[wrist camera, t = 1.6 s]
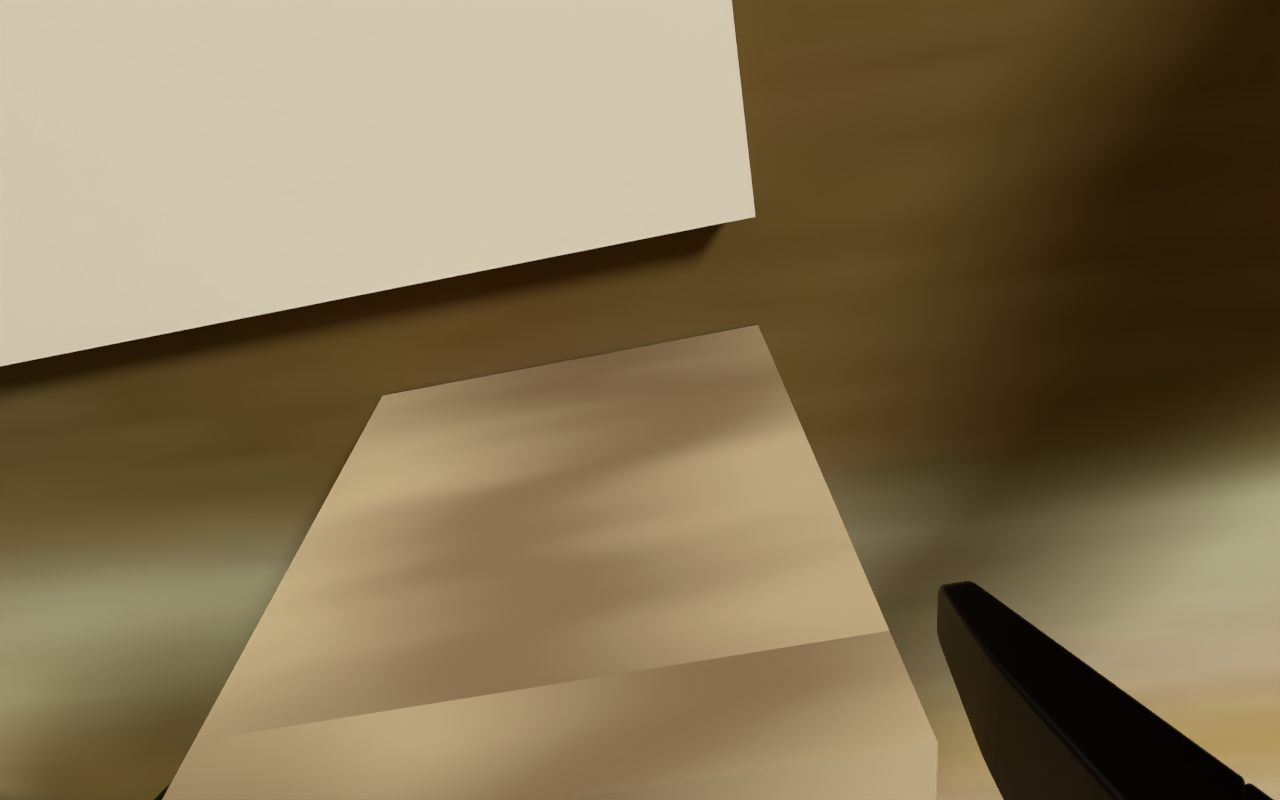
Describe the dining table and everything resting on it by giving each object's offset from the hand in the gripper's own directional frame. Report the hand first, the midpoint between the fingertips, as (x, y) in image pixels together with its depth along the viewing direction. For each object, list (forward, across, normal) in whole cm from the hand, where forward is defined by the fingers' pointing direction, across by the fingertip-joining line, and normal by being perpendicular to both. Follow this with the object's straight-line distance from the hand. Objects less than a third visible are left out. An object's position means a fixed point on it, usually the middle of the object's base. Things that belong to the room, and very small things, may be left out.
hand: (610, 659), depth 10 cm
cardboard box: (+3, 0, 0) cm, 3 cm away
